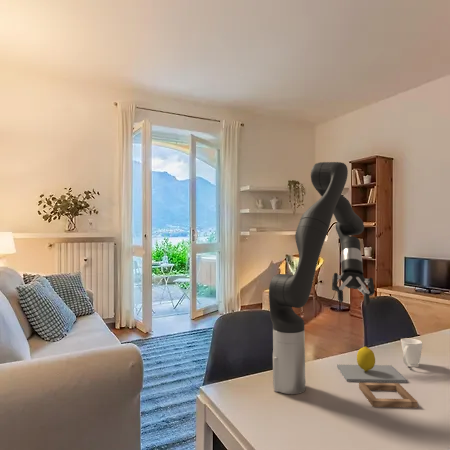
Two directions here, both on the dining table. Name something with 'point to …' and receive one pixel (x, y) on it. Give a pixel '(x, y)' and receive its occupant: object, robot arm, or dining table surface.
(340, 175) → the robot arm
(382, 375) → the mat
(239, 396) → the dining table surface
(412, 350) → the cup
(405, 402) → the square seat
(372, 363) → the lemon
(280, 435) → the dining table surface
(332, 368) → the dining table surface
